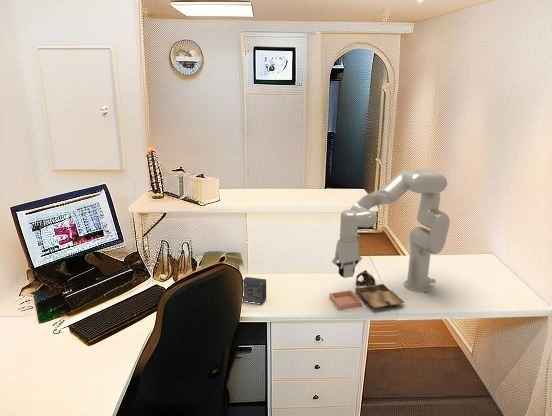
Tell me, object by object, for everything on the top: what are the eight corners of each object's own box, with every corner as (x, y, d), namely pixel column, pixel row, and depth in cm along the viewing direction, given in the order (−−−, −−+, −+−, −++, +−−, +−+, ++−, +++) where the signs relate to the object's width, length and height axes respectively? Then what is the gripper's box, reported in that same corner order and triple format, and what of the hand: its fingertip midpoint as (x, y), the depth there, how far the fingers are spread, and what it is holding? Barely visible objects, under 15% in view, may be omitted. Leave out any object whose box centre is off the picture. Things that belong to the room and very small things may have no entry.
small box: (267, 298, 204) (266, 278, 201) (263, 305, 198) (262, 285, 195) (246, 295, 207) (245, 276, 204) (241, 302, 201) (241, 282, 198)
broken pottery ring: (378, 291, 211) (372, 279, 207) (360, 297, 214) (354, 286, 210) (375, 274, 221) (369, 263, 218) (358, 280, 224) (351, 270, 220)
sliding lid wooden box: (383, 289, 212) (383, 282, 210) (404, 309, 194) (405, 301, 193) (354, 294, 207) (355, 286, 206) (373, 314, 190) (374, 306, 189)
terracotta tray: (350, 295, 206) (351, 290, 205) (361, 307, 196) (361, 301, 195) (329, 299, 203) (329, 293, 202) (338, 311, 193) (339, 305, 192)
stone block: (348, 272, 197) (349, 260, 196) (353, 276, 193) (353, 264, 191) (339, 273, 196) (340, 261, 194) (343, 278, 192) (344, 265, 190)
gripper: (361, 232, 195) (359, 268, 200) (327, 236, 190) (326, 273, 196) (369, 238, 188) (366, 276, 193) (334, 243, 183) (332, 280, 189)
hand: (346, 274), depth 195 cm, fingers closed on stone block, 4 cm apart
